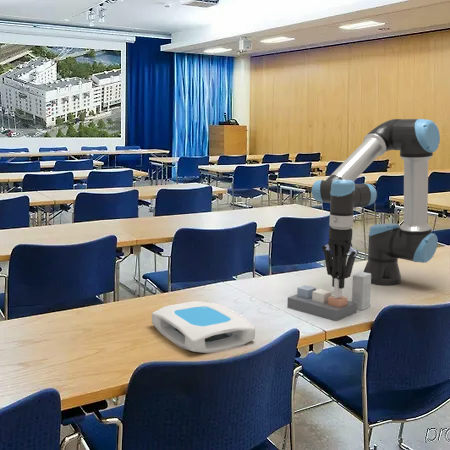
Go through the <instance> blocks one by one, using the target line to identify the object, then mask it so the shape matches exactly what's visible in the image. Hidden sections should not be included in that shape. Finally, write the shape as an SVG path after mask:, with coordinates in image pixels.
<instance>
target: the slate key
mask: <svg viewBox="0 0 450 450" xmlns="http://www.w3.org/2000/svg"><path fill="white" fill-rule="evenodd" d="M316 290H317V287H315V286H309V285H307V284H306V285H302V286H299V287H297V291H296V292H297V293H296V295H297V297H301V298H305V299H311V298H312V292H313V291H316Z"/></svg>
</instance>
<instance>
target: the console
mask: <svg viewBox="0 0 450 450" xmlns="http://www.w3.org/2000/svg"><path fill="white" fill-rule="evenodd" d="M356 306H357V303H356V302H352V300H349V299H348V300H347V305H346V306H343V307H341V308H339V307H335V306H331V305H328V302H326V303H320V302H316V301H312V298H311V299H305V298H301V297H297V294H294V295H291V296H287V308H289V309H292V310H296V311H299V312H303V313H307V314H310V315H313V316H317V317H319V318H320V317H321V318H324V319H326V320H327V319H328V320H331V321H335V322H337V321H339V320H342V319H345V318H347V317H349V316H352V315H354V314H356V313H357V309H356Z"/></svg>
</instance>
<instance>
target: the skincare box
mask: <svg viewBox="0 0 450 450" xmlns="http://www.w3.org/2000/svg"><path fill="white" fill-rule="evenodd" d="M351 285H352V290H351V301H352V302H356V303H357V306H356V311H358V310H359V311H364V310H365V309H367V308H369V307H370V306H371V290H372V288H371V287H372V283H371V274H370V273H365V272H364V271H359V272H358V273H355V274H352V284H351Z"/></svg>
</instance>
